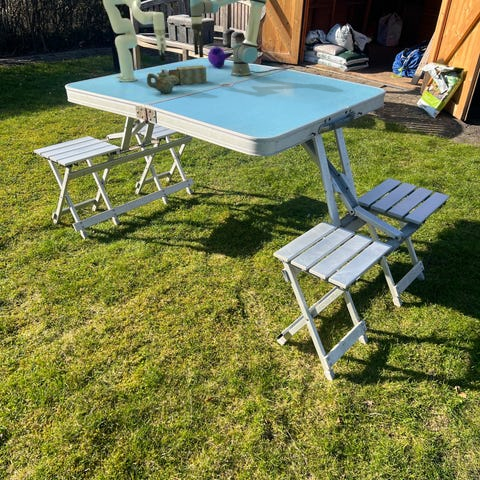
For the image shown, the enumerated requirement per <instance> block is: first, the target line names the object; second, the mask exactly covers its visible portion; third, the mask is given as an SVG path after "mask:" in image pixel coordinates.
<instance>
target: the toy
mask: <svg viewBox="0 0 480 480" xmlns="http://www.w3.org/2000/svg"><path fill="white" fill-rule="evenodd" d="M230 57H233V52H225V51H224V50H223V49H222V47H220V46H214V47H212V48H210V50H209V51H208V54H207V59H208V62H209V63H210V64H211V65H212V66H214V67H216V68H217V69H220V68H222V67H223V66H224V65H225V62H226V60H227V59H228V58H230Z"/></svg>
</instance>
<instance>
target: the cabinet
mask: <svg viewBox="0 0 480 480" xmlns="http://www.w3.org/2000/svg"><path fill="white" fill-rule="evenodd" d="M176 69H178V70H180V81H181V83H178V84H179V85H180V86H188V85H189V86H190V85H200V84H207V83H208V79H207V77H208V76H207V67H206V66H204V65H203V64H200V65H199V64H198V65H186V66H176Z"/></svg>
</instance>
